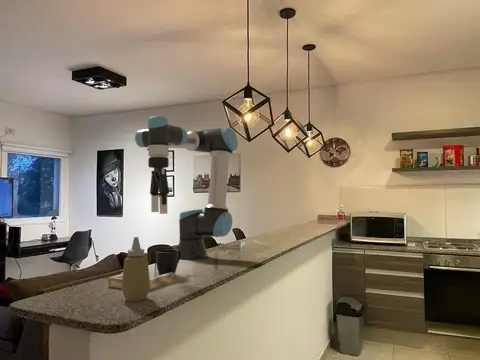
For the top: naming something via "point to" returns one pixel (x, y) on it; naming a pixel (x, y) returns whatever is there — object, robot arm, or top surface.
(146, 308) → the top surface
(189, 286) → the top surface
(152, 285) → the tray
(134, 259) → the squeeze bottle
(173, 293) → the top surface
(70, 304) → the top surface
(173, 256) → the mug
